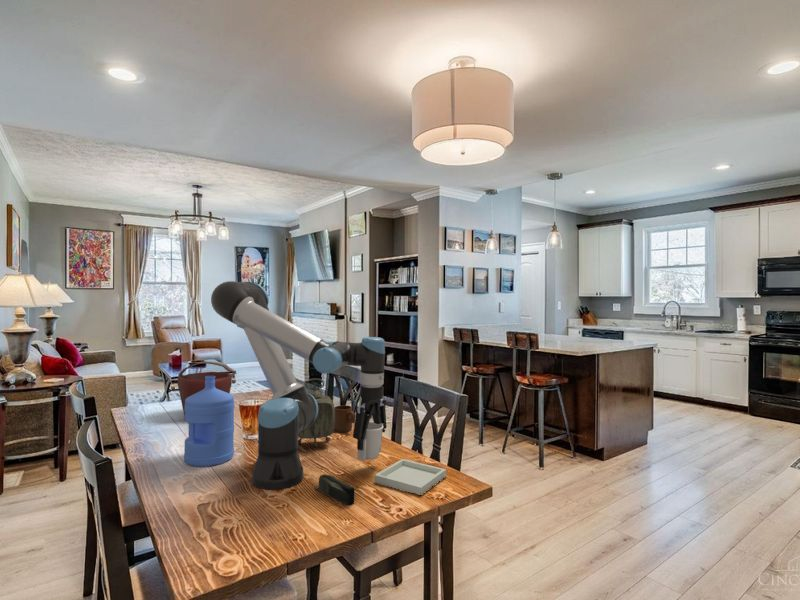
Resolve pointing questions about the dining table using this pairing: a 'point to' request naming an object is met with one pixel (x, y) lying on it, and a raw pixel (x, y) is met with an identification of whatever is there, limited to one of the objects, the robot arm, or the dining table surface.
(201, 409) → the water jug
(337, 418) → the mug
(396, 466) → the tray
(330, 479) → the dark green rounded block
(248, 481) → the dining table surface
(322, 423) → the tabletop clock
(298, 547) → the dining table surface
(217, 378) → the bucket
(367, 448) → the dixie cup
